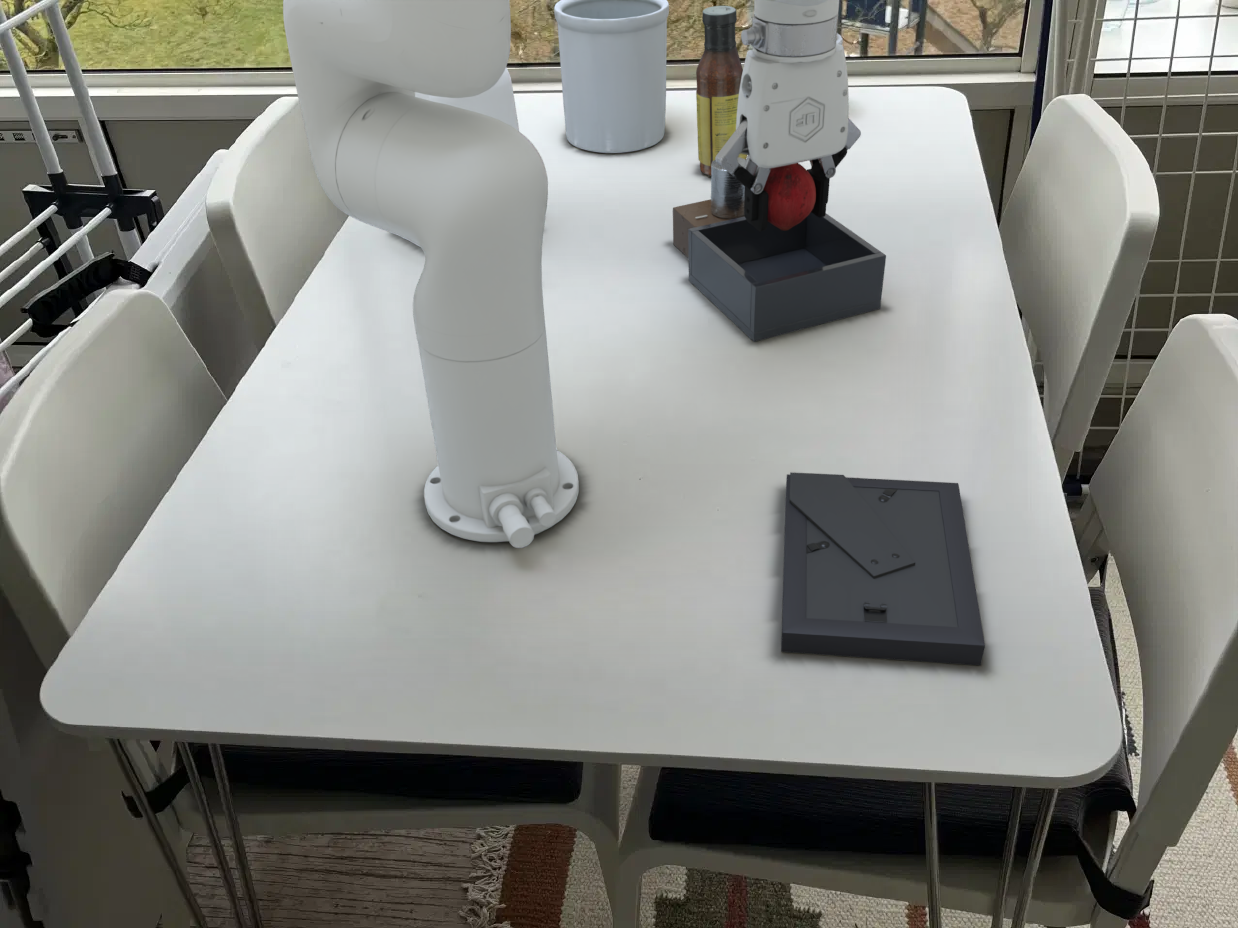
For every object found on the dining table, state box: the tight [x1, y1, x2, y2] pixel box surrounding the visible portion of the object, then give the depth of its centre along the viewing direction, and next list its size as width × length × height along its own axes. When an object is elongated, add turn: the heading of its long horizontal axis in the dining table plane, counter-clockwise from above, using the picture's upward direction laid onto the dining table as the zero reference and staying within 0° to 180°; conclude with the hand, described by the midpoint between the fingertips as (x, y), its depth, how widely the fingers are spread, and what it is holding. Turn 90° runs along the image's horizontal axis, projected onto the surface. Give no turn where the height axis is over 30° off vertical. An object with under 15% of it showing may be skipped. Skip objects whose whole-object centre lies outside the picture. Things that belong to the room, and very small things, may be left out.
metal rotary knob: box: [710, 157, 746, 219], centre depth 123 cm, size 4×4×6 cm
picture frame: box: [780, 471, 986, 666], centre depth 83 cm, size 13×2×18 cm
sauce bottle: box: [695, 5, 748, 177], centre depth 140 cm, size 6×6×20 cm
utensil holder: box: [553, 0, 670, 154], centre depth 152 cm, size 15×15×18 cm
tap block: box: [672, 198, 744, 259], centre depth 126 cm, size 8×10×5 cm
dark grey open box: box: [688, 212, 887, 343], centre depth 117 cm, size 15×15×6 cm
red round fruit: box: [764, 163, 816, 230], centre depth 112 cm, size 6×6×8 cm
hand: (785, 217), depth 114 cm, fingers closed on red round fruit, 5 cm apart
